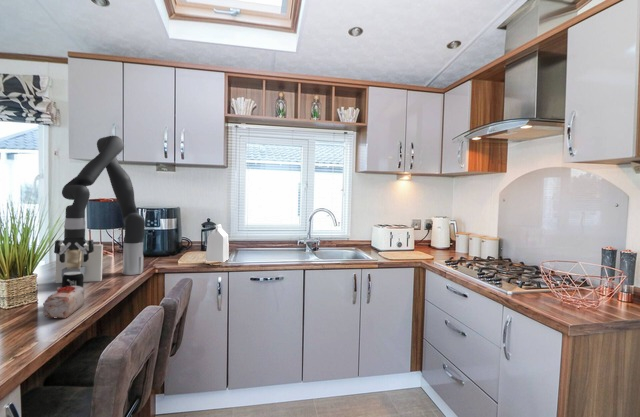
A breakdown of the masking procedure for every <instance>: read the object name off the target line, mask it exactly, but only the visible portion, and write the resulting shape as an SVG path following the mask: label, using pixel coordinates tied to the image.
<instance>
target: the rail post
mask: <svg viewBox="0 0 640 417" xmlns="http://www.w3.org/2000/svg"><path fill="white" fill-rule="evenodd" d="M79 268H81V250H80V249H72V250H67V269H79Z"/></svg>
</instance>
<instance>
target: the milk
mask: <svg viewBox="0 0 640 417" xmlns="http://www.w3.org/2000/svg"><path fill="white" fill-rule="evenodd" d="M229 240H230V239H229V234H228V233H227V232H226V230H224V229H223V227H222V224H216V225H215V229H213V230H212V231H211V233H210V234H209V235H207V243H206V252H205V261H206V260H207V261H220V262H225V261H226V260H228V259H229V258H230V255H229V254H230V251H229V250H230V247H229V245H230V244H229ZM229 260H230V259H229Z"/></svg>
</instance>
